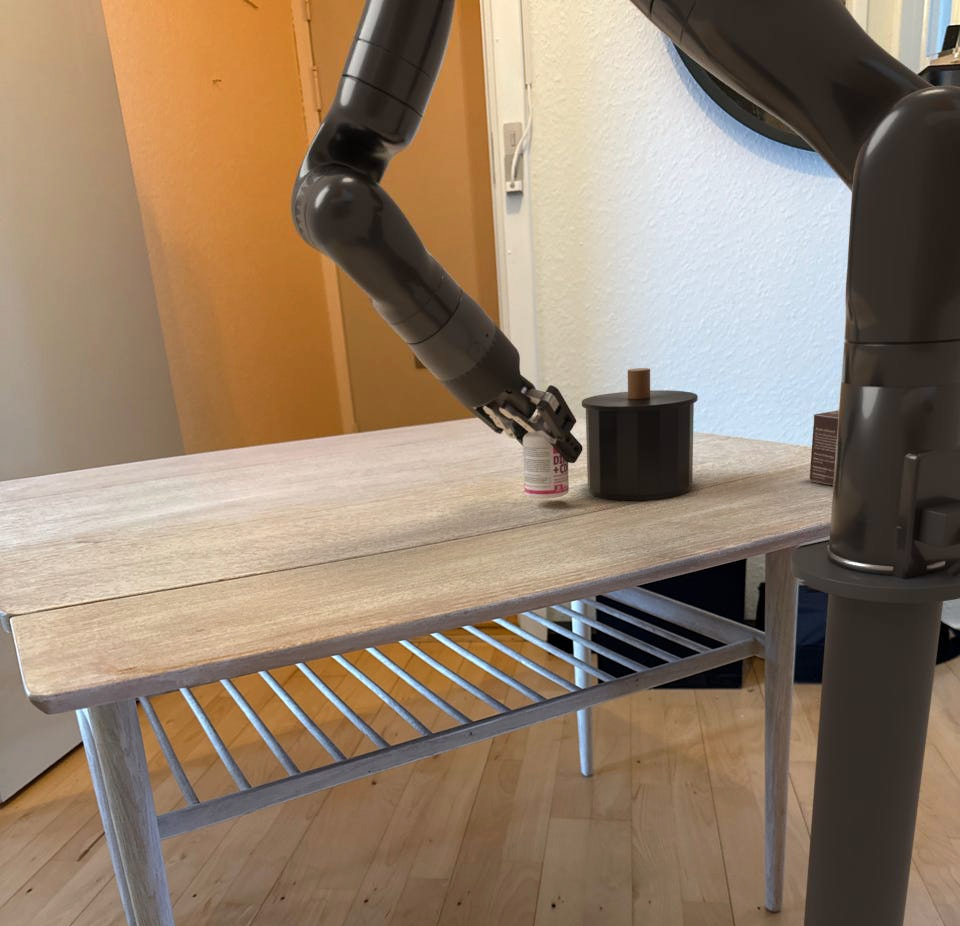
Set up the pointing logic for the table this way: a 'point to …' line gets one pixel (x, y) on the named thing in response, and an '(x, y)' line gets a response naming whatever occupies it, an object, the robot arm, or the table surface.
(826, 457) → the box
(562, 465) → the pill bottle
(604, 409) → the pot lid
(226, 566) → the table surface
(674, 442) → the pot
